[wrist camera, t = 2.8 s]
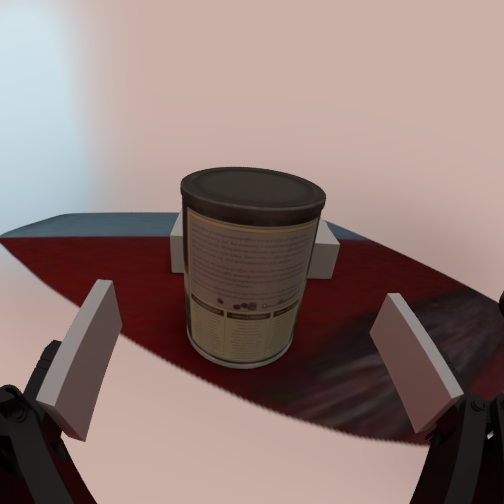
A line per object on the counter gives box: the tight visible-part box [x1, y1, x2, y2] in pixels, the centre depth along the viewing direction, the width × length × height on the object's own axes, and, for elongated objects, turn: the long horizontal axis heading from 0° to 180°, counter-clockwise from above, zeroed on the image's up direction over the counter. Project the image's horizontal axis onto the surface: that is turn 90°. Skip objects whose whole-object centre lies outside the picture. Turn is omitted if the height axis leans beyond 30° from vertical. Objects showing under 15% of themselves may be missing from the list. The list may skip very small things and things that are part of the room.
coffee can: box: [180, 167, 326, 369], centre depth 23 cm, size 10×10×14 cm
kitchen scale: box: [170, 209, 340, 279], centre depth 40 cm, size 15×21×6 cm
